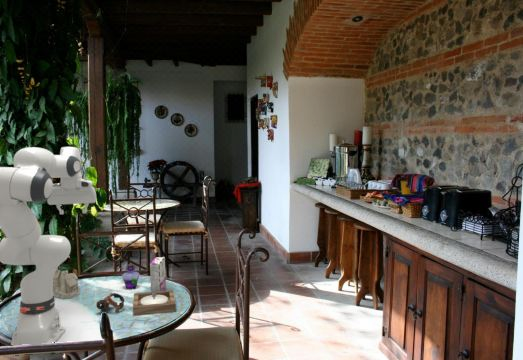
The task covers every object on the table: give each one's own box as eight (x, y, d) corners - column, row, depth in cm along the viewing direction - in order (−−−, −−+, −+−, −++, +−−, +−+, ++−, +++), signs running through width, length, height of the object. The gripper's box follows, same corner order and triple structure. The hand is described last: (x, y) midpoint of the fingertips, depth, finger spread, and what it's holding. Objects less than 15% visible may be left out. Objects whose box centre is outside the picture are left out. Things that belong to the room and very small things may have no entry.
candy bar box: (156, 288, 228) (155, 256, 226) (166, 288, 228) (165, 256, 226) (150, 297, 217) (149, 263, 215) (160, 297, 217) (159, 263, 215)
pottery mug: (112, 305, 208) (120, 290, 206) (121, 319, 203) (130, 304, 201) (89, 306, 199) (97, 291, 197) (98, 321, 193) (106, 306, 191)
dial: (168, 307, 201) (168, 292, 200) (140, 309, 198) (139, 294, 198) (167, 297, 213) (166, 283, 212) (140, 299, 210) (140, 285, 209)
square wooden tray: (175, 311, 199) (175, 303, 199) (133, 315, 195) (132, 307, 194) (173, 297, 216) (173, 289, 216) (134, 300, 212) (134, 292, 212)
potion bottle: (131, 291, 224) (131, 267, 223) (118, 288, 228) (117, 265, 227) (143, 286, 232) (142, 263, 231) (130, 283, 236) (129, 261, 234)
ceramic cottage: (64, 300, 212) (64, 268, 211) (43, 295, 220) (42, 264, 220) (92, 292, 225) (92, 262, 225) (71, 288, 234) (71, 259, 233)
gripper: (44, 184, 196) (46, 216, 198) (94, 183, 202) (96, 213, 203) (47, 183, 202) (49, 213, 204) (96, 181, 208) (97, 211, 209)
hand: (73, 213), depth 203 cm, fingers open, 8 cm apart
